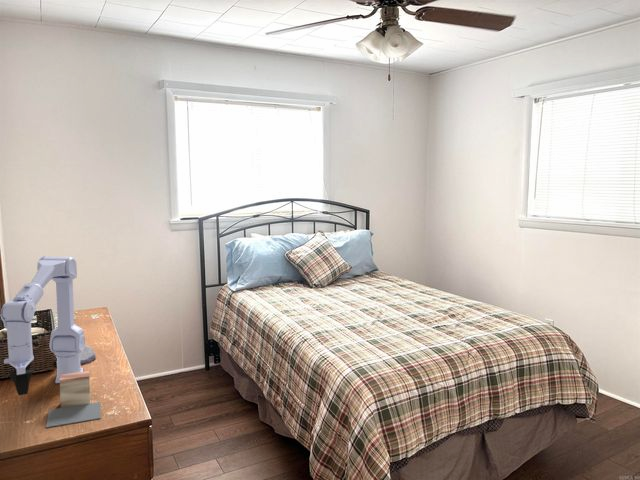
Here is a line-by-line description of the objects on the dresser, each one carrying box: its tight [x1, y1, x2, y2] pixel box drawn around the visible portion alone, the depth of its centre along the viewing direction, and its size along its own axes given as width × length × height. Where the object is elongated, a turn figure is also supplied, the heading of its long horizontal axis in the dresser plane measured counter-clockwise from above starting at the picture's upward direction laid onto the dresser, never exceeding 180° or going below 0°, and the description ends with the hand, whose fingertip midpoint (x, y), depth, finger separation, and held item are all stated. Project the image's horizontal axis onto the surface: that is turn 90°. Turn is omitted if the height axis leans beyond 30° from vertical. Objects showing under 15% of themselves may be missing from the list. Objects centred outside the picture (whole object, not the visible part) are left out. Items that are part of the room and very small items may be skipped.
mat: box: [45, 401, 102, 429], centre depth 141 cm, size 10×14×1 cm
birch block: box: [59, 370, 91, 408], centre depth 147 cm, size 4×8×9 cm, turn 114°
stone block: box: [80, 344, 97, 364], centre depth 178 cm, size 12×5×10 cm
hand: (23, 388), depth 135 cm, fingers open, 7 cm apart
